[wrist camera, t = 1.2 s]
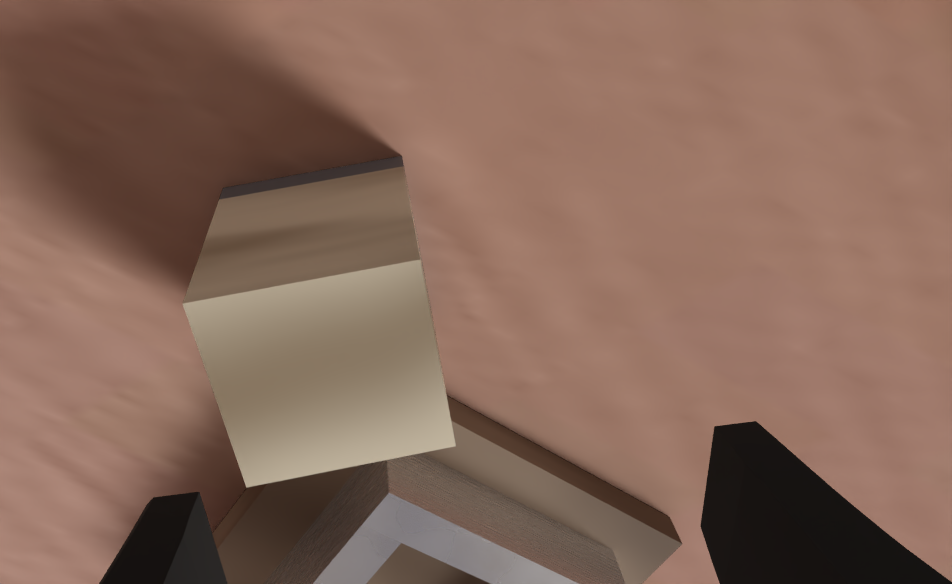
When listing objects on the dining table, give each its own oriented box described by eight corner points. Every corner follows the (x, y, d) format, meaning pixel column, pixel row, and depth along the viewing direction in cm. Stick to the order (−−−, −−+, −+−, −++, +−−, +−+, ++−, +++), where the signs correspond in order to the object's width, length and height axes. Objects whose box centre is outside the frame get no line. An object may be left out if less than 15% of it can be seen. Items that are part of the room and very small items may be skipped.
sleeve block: (431, 309, 23) (455, 446, 18) (269, 340, 23) (246, 487, 18) (401, 155, 21) (420, 259, 16) (223, 187, 21) (182, 303, 16)
